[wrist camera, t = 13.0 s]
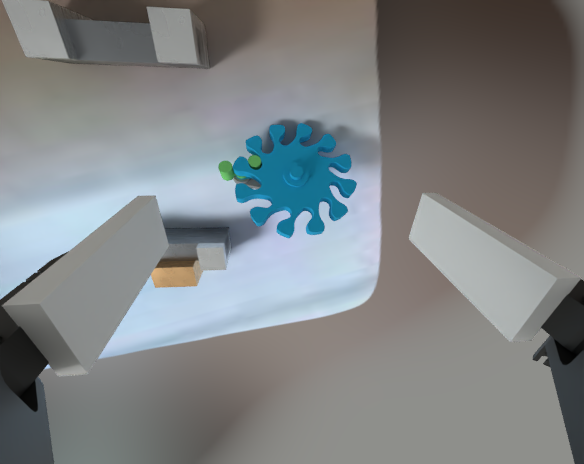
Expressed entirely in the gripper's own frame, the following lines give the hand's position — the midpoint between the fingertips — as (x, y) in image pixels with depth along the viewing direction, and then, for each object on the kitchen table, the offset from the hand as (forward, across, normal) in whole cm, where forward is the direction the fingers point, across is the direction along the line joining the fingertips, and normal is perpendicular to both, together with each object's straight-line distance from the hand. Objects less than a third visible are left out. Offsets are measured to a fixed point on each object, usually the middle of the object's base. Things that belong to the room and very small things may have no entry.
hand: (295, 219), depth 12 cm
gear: (+12, 0, 0) cm, 12 cm away
